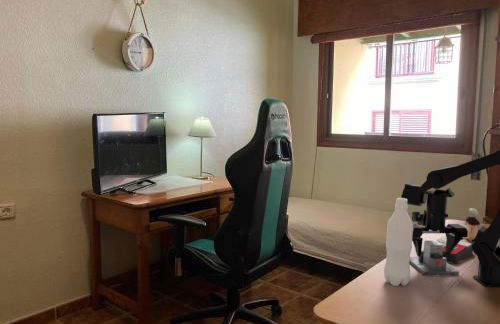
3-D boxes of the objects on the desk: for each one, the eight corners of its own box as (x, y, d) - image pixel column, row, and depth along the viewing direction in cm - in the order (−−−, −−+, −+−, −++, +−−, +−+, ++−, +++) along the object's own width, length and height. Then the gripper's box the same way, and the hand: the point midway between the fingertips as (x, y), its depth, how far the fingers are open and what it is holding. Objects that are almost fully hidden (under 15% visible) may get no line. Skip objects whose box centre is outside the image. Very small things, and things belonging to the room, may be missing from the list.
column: (441, 266, 129) (443, 245, 128) (429, 266, 129) (431, 245, 128) (434, 261, 133) (436, 240, 132) (422, 261, 133) (424, 240, 132)
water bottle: (411, 289, 115) (417, 202, 112) (384, 286, 117) (390, 201, 113) (407, 279, 122) (412, 196, 119) (382, 276, 124) (387, 195, 120)
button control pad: (423, 245, 142) (442, 234, 152) (422, 257, 143) (441, 245, 153) (456, 254, 134) (473, 242, 144) (455, 266, 135) (473, 254, 145)
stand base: (458, 275, 126) (460, 258, 125) (423, 275, 125) (424, 258, 124) (438, 260, 138) (440, 245, 137) (406, 260, 137) (407, 245, 136)
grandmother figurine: (458, 237, 162) (461, 206, 160) (465, 236, 164) (467, 205, 162) (476, 243, 155) (479, 211, 154) (483, 242, 157) (486, 210, 155)
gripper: (451, 202, 137) (447, 247, 139) (396, 202, 136) (394, 248, 138) (470, 211, 126) (466, 260, 128) (411, 211, 125) (408, 260, 127)
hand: (432, 256), depth 131 cm, fingers open, 9 cm apart
